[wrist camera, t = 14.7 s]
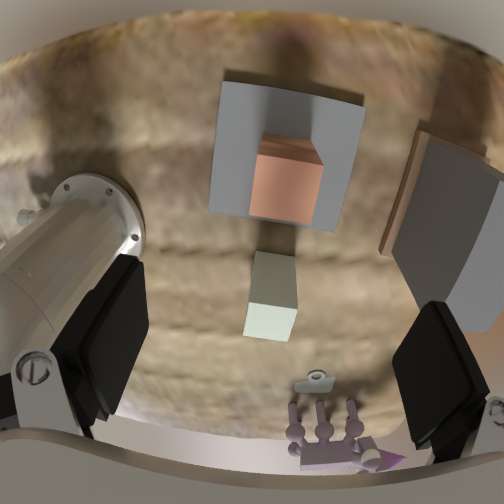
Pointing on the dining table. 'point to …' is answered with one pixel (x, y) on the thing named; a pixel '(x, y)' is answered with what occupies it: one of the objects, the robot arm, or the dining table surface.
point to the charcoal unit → (450, 231)
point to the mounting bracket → (315, 383)
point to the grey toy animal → (337, 445)
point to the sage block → (271, 297)
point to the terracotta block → (286, 179)
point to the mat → (287, 124)
